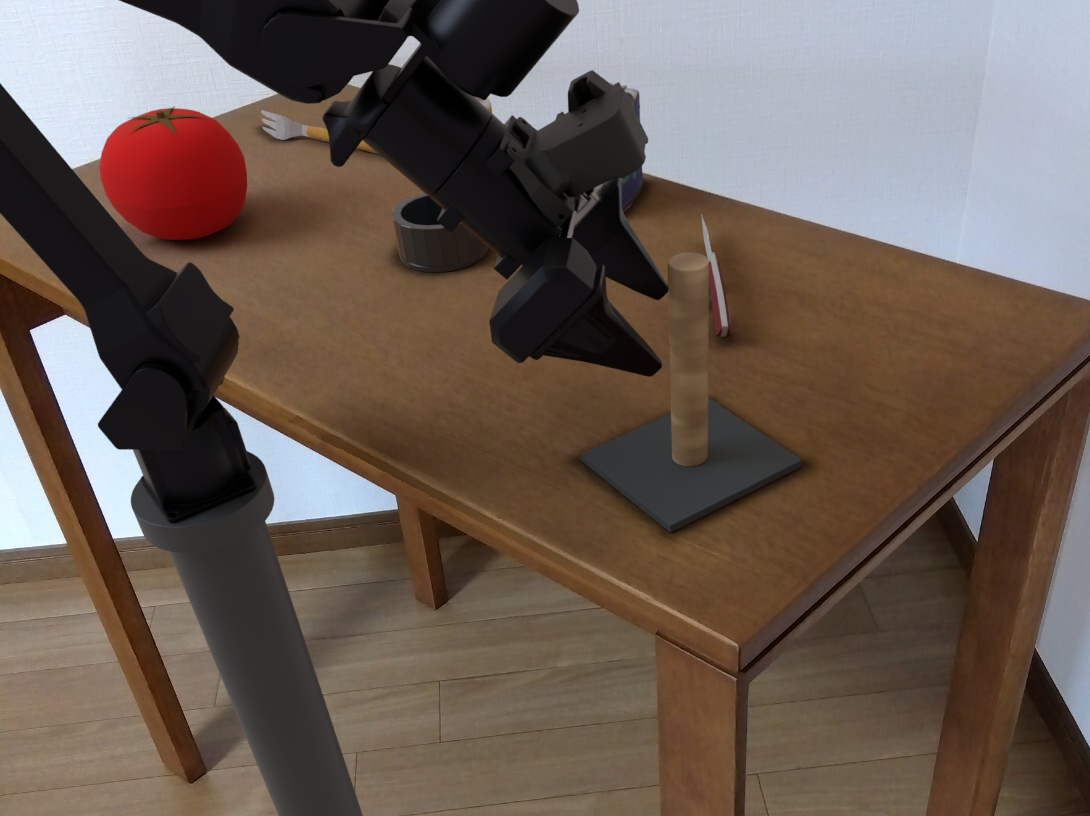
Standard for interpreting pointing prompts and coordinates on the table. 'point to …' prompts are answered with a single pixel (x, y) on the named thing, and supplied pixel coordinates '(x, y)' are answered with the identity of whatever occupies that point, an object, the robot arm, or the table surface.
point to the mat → (690, 467)
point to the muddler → (689, 356)
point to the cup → (432, 238)
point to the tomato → (174, 174)
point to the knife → (717, 291)
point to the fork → (299, 130)
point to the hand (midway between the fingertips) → (660, 330)
